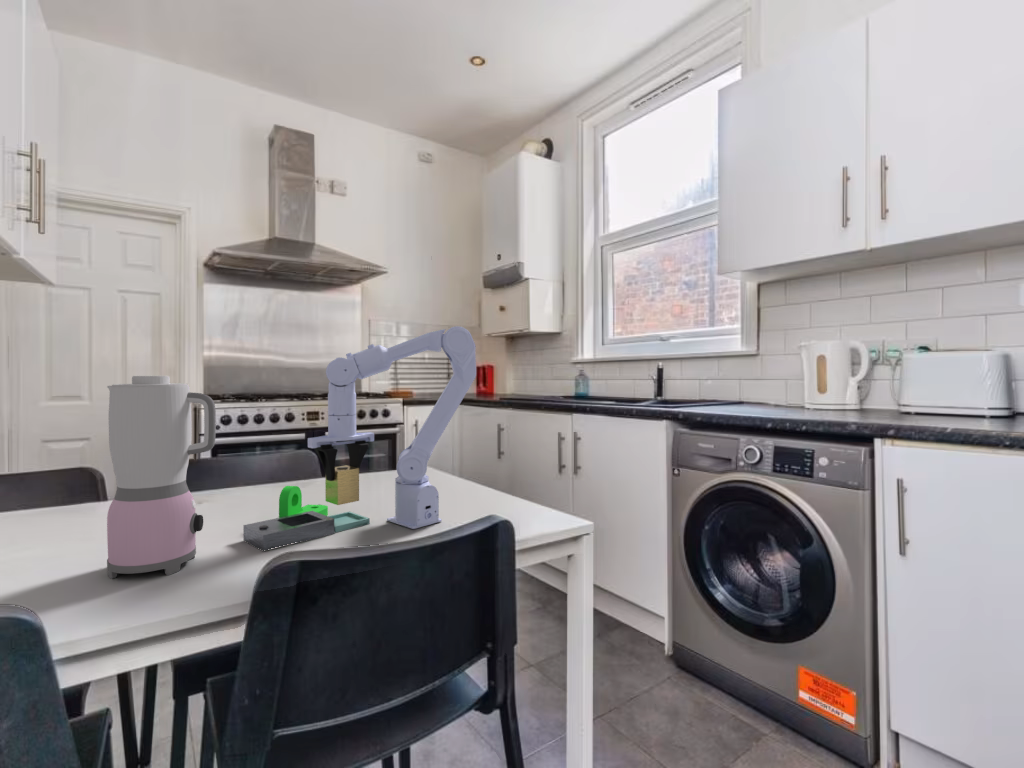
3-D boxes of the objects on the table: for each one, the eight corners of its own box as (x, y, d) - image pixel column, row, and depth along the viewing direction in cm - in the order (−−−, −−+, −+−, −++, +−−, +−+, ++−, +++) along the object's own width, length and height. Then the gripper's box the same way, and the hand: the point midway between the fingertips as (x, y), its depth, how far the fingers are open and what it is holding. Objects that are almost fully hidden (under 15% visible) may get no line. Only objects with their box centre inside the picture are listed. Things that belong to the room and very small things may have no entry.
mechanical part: (305, 527, 108) (306, 489, 108) (278, 526, 108) (279, 488, 109) (332, 513, 120) (332, 479, 120) (307, 513, 120) (308, 478, 121)
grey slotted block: (334, 533, 104) (334, 517, 104) (263, 551, 94) (263, 533, 94) (312, 524, 110) (312, 509, 110) (243, 540, 100) (243, 523, 100)
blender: (90, 585, 79) (87, 376, 78) (125, 557, 91) (122, 375, 90) (207, 574, 83) (204, 376, 83) (225, 549, 95) (223, 375, 94)
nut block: (359, 500, 111) (359, 467, 111) (337, 505, 107) (337, 470, 107) (346, 496, 114) (346, 464, 114) (325, 501, 110) (325, 467, 110)
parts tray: (369, 523, 111) (369, 518, 111) (335, 532, 105) (335, 526, 105) (349, 516, 116) (349, 511, 116) (315, 524, 110) (315, 519, 110)
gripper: (361, 411, 118) (362, 470, 118) (300, 415, 107) (300, 480, 108) (379, 413, 113) (379, 475, 114) (317, 417, 103) (317, 485, 103)
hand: (342, 478), depth 110 cm, fingers closed on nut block, 5 cm apart
